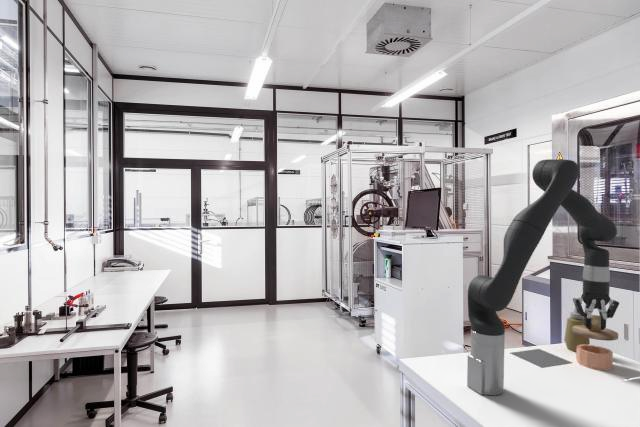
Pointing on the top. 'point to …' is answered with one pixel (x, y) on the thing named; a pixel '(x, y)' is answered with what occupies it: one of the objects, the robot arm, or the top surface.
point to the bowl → (594, 357)
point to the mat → (541, 358)
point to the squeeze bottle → (572, 338)
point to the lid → (595, 330)
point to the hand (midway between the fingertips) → (594, 328)
